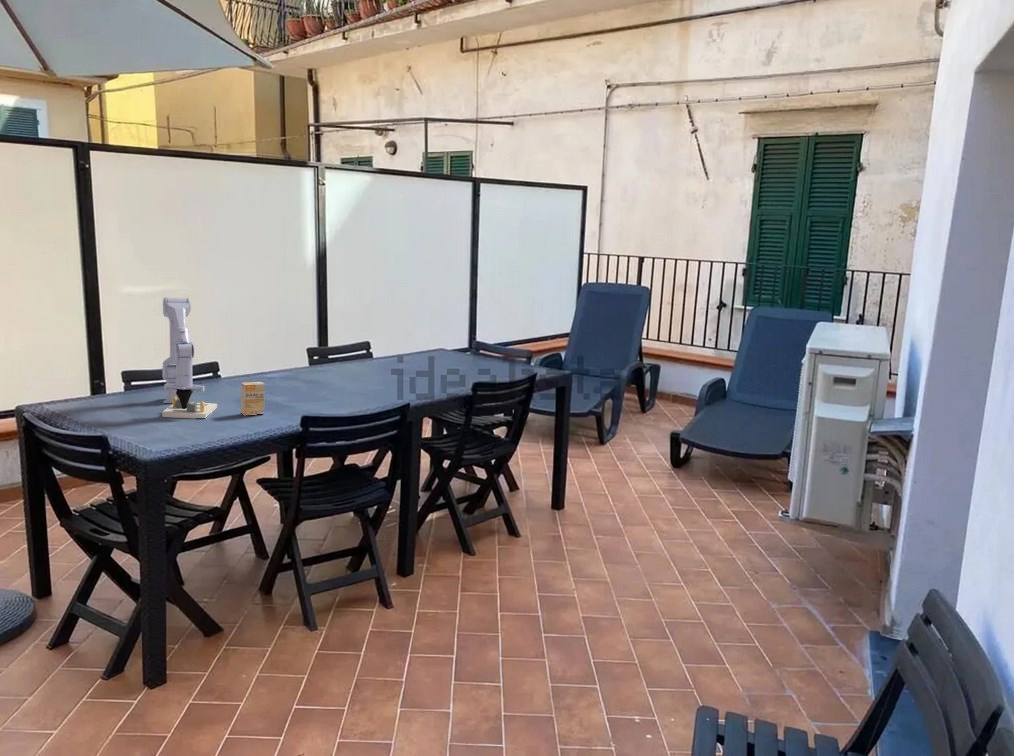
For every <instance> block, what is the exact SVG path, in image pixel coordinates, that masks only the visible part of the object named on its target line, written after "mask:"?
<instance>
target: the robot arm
mask: <svg viewBox="0 0 1014 756" xmlns="http://www.w3.org/2000/svg"><path fill="white" fill-rule="evenodd" d="M191 308H192V304H191V299H190V298H189V297H181V298H180V297H164V298H162V312H163V313H162V314H163V317H166V318H167V319H168V322H169V357H167V358H166V359H164V361H163V362H162V370H161V371H162V372H161V373H162V375H161V376H162V379H163V380H164V381H166V383H165V384H163V390H165V391H166V399H164V400H163V401H162V403H164V404H173V397H177V396H178V398H179V400H180V403H181V406H182V409H186V408H187V404H188V401H189V398H190V399H191V396H192V394H193V392H203V393H204V392H205V385H199V384H194V383H193V358H194V357H195V347H194V343H193V341H192V338H191V333H190V330H189V329H188V328H187V327H186V326H187V323H186V322H187V317H188V316H189V315H190V313H191V310H192V309H191Z"/></svg>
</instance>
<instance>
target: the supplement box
mask: <svg viewBox="0 0 1014 756" xmlns="http://www.w3.org/2000/svg"><path fill="white" fill-rule="evenodd" d="M265 385H266V383H264V382H262V381H254V382H253V381H252V382H250V381H249V382H241V383H240V413H239V414H241V413H242V414H243V415H250V414H259V413H264V414H265V394H266V393H265V389H266V387H265ZM242 414H241V415H242ZM243 415H242V416H243Z"/></svg>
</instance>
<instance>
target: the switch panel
mask: <svg viewBox="0 0 1014 756" xmlns="http://www.w3.org/2000/svg"><path fill="white" fill-rule="evenodd" d="M177 399H179V398H178V396H177V397H173V403H171V405H170V406H168V407H166V409H164V410H163V411H162V412H161V417H162V418H174V419H175V418H177V419H196V418H206V417H207V416H208V415H209V414H210V413H211V414H213V413H214V412H215V411H216V410H217V409H218V403H209V402H205V401H199V402H196V403H197V411H196V412H187V408H186V409H182V408H176V400H177ZM191 402H192V401H190V403H191ZM216 408H217V409H216ZM215 409H216V410H215ZM214 410H215V411H214ZM213 411H214V412H213ZM212 412H213V413H212ZM211 414H210V415H211ZM210 415H209V416H210ZM209 416H208V417H209ZM208 417H207V418H208ZM207 418H206V419H207Z"/></svg>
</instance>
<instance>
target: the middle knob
mask: <svg viewBox="0 0 1014 756" xmlns="http://www.w3.org/2000/svg"><path fill="white" fill-rule="evenodd" d="M176 408H182V406H181V403H180V400H179V399H177V400H176Z"/></svg>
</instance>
